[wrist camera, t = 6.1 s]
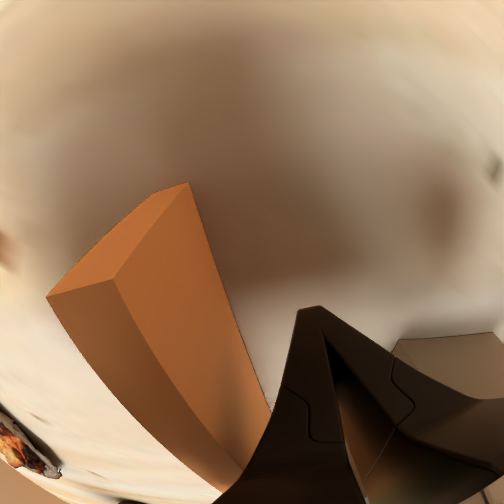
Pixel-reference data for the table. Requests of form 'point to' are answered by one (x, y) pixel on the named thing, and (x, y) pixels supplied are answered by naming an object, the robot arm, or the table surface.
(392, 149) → the table surface
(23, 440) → the food plate
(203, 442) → the side door
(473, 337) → the camera case
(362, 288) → the table surface
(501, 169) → the table surface
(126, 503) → the cola bottle
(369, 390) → the robot arm
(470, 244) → the table surface
